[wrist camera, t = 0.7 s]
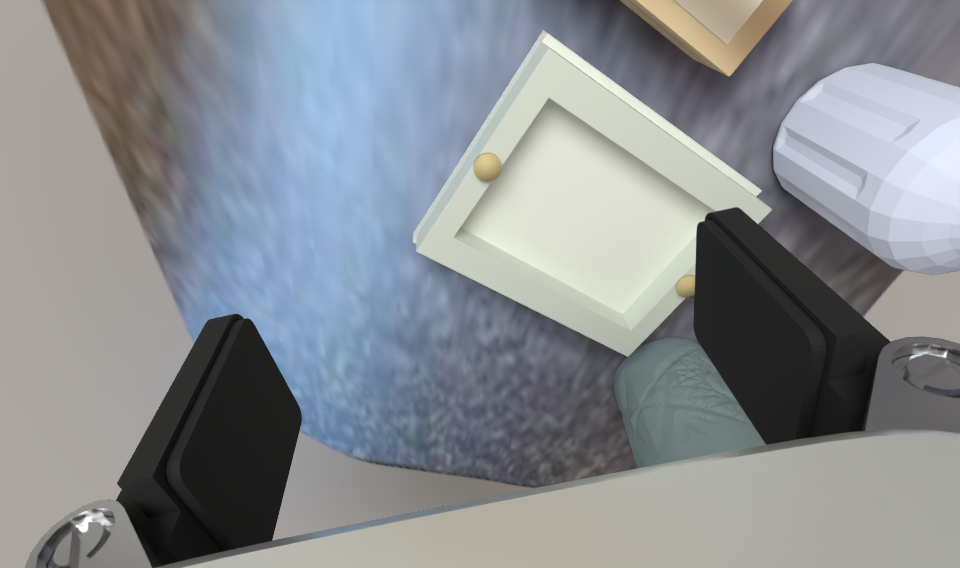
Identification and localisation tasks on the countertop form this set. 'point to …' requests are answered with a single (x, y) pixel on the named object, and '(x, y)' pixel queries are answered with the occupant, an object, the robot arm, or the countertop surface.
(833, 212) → the soap bottle
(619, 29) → the countertop surface
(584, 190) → the cream rectangular tray
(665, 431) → the teal embossed pot
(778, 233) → the countertop surface
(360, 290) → the countertop surface
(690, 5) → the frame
